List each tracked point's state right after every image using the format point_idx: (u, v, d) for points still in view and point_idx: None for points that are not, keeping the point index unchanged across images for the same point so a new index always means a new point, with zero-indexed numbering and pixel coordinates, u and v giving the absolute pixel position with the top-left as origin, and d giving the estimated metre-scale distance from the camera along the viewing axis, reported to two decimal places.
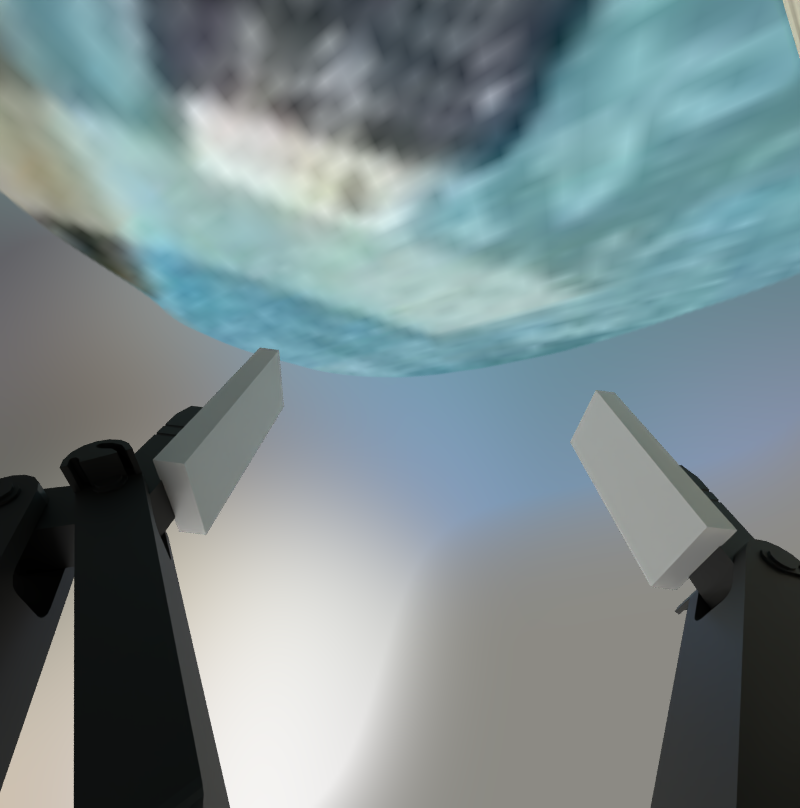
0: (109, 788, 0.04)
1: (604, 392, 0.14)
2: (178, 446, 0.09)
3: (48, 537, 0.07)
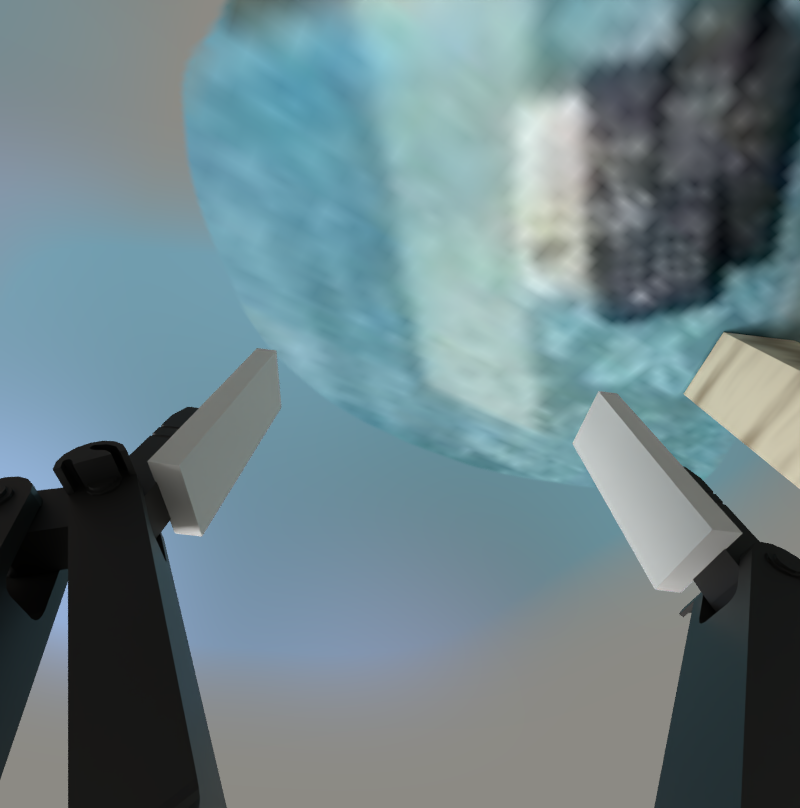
0: (104, 792, 0.04)
1: (607, 393, 0.14)
2: (173, 447, 0.09)
3: (41, 539, 0.07)
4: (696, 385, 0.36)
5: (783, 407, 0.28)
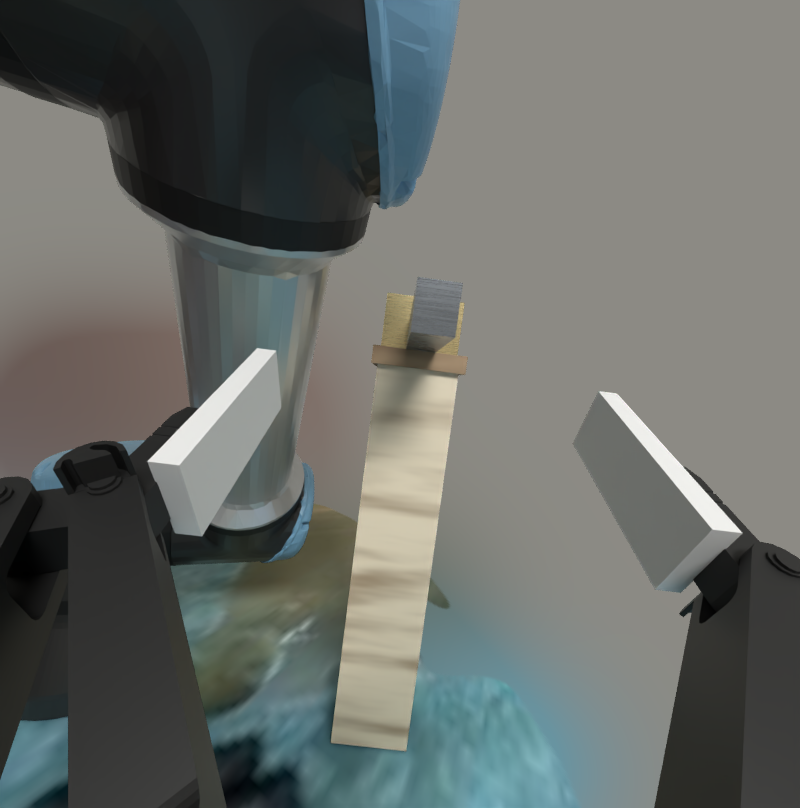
0: (104, 792, 0.04)
1: (607, 393, 0.14)
2: (173, 447, 0.09)
3: (41, 539, 0.07)
4: (390, 741, 0.32)
5: (372, 656, 0.32)
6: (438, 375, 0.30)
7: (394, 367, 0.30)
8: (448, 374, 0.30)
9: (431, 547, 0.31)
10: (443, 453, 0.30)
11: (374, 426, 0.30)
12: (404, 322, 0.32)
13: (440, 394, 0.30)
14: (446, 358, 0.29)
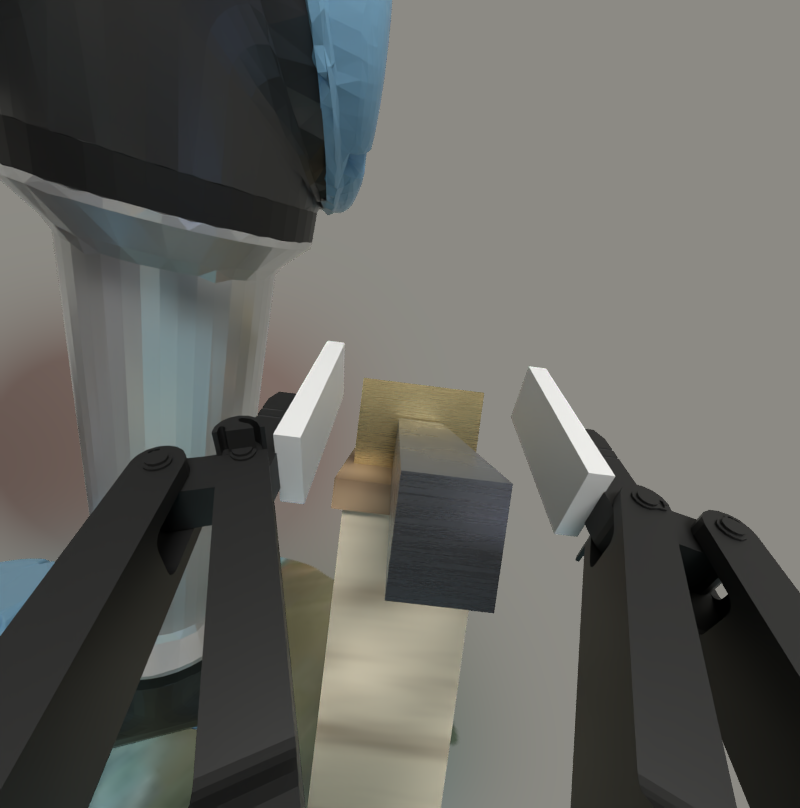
0: (223, 719, 0.05)
1: (536, 368, 0.15)
2: (290, 423, 0.10)
3: (196, 498, 0.09)
4: None
5: None
6: None
7: (371, 512, 0.17)
8: None
9: (437, 806, 0.18)
10: (455, 653, 0.18)
11: (338, 611, 0.18)
12: (390, 422, 0.20)
13: None
14: None
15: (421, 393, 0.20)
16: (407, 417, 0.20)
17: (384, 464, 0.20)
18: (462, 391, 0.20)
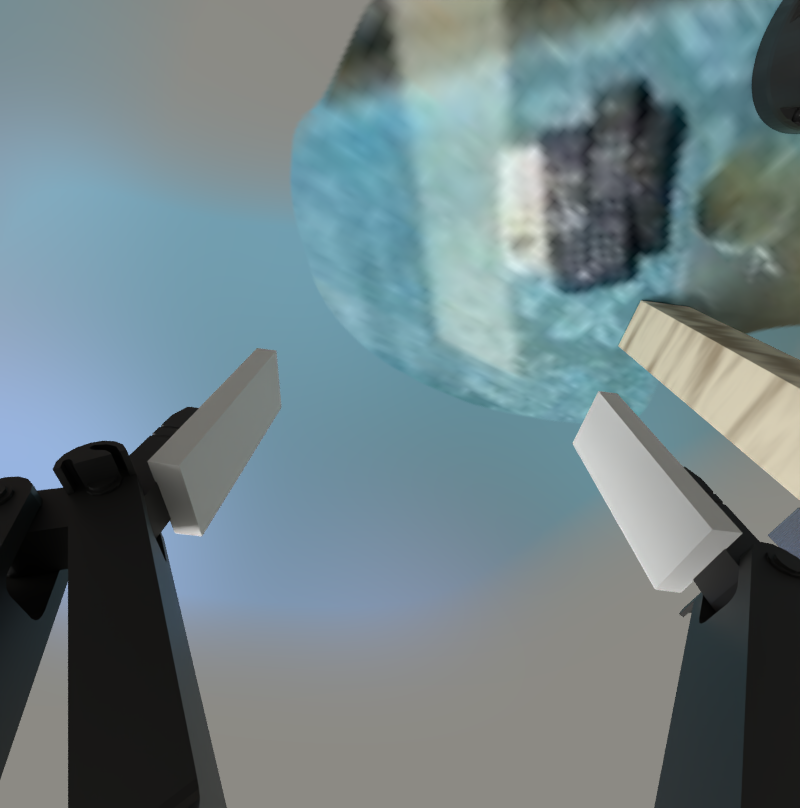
0: (104, 791, 0.04)
1: (607, 393, 0.14)
2: (173, 447, 0.09)
3: (41, 539, 0.07)
4: (625, 338, 0.52)
5: (667, 343, 0.43)
6: None
7: None
8: None
9: (707, 419, 0.37)
10: (777, 476, 0.29)
11: None
12: None
13: None
14: None
15: None
16: None
17: None
18: None
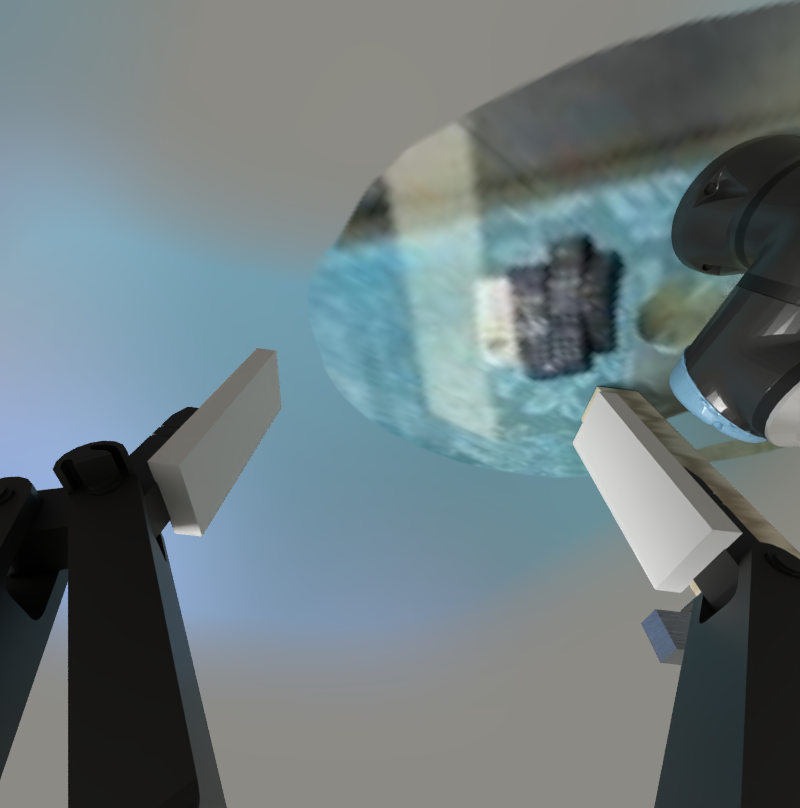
0: (104, 792, 0.04)
1: (607, 393, 0.14)
2: (173, 447, 0.09)
3: (41, 539, 0.07)
4: None
5: None
6: None
7: None
8: None
9: None
10: None
11: None
12: None
13: None
14: None
15: None
16: None
17: None
18: None
